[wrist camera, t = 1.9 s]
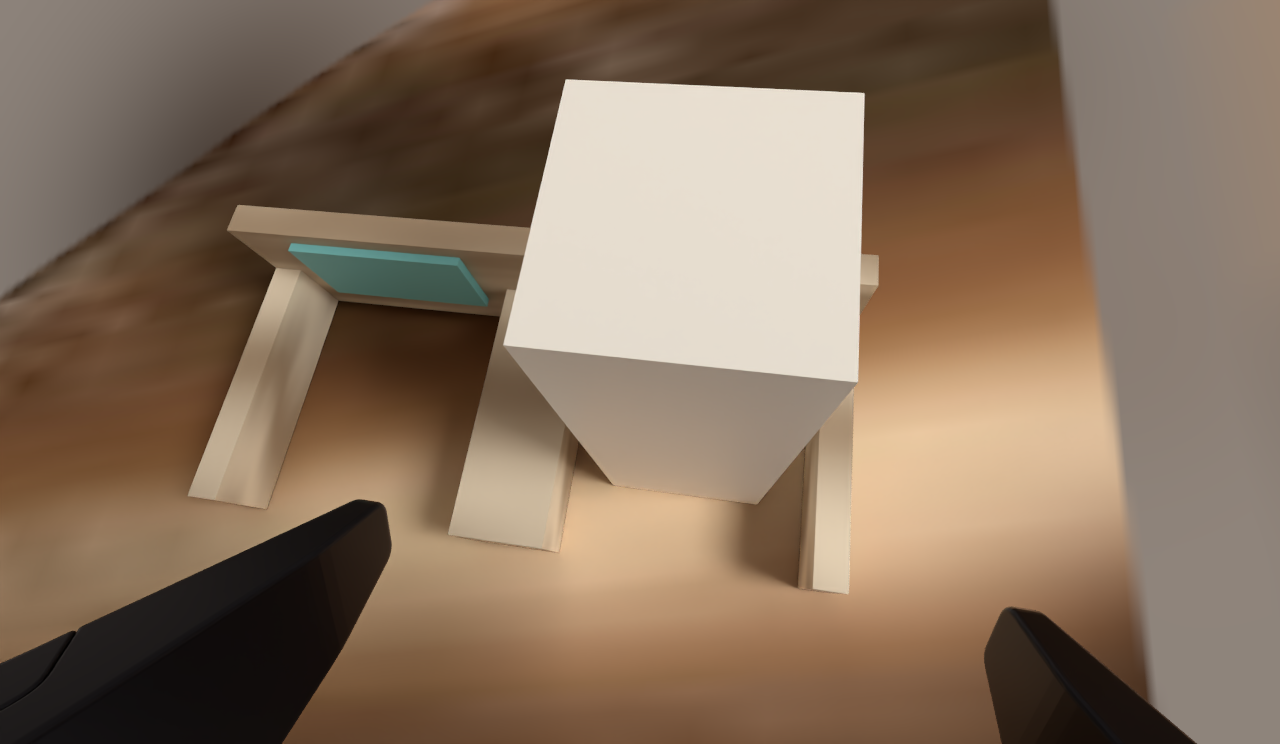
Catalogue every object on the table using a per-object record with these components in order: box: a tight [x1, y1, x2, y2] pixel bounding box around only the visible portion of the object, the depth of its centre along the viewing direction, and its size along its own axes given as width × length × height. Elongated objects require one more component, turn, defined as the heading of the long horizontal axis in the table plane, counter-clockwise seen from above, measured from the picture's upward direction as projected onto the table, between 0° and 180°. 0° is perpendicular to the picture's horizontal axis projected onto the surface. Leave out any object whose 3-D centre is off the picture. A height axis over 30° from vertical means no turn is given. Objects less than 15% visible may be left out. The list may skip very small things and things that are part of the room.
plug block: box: [503, 80, 864, 505], centre depth 15 cm, size 5×5×13 cm
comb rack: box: [187, 205, 879, 594], centre depth 19 cm, size 10×21×5 cm, turn 82°
